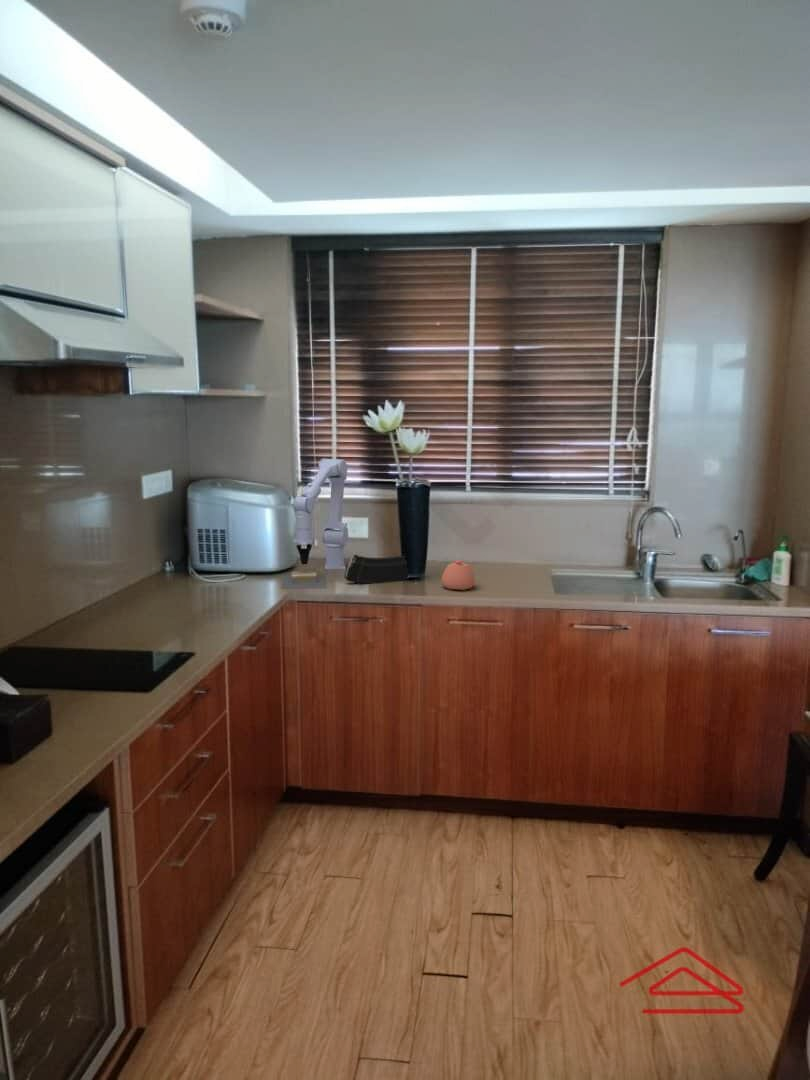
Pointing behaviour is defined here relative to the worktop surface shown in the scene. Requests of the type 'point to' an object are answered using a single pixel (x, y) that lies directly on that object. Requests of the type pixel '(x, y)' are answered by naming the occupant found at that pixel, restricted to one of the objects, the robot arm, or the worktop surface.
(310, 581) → the tile
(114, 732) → the worktop surface
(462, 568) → the sugar bowl
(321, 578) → the mat
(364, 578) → the magazine
